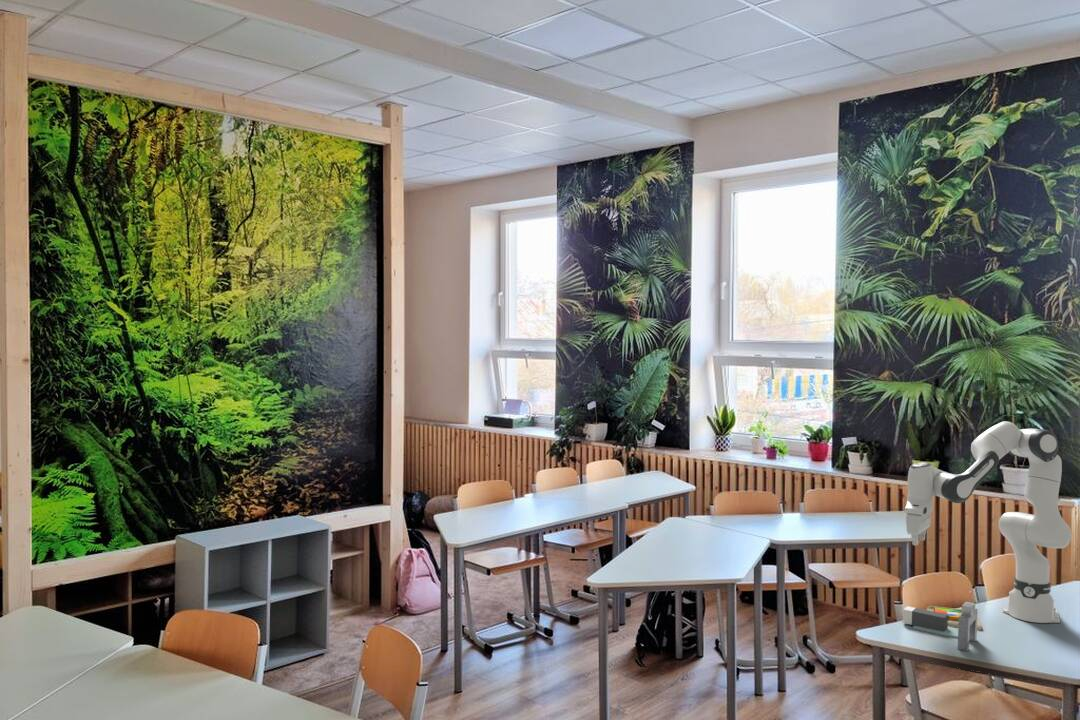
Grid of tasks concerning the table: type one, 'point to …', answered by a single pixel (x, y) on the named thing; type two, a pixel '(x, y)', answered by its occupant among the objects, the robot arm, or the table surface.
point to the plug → (925, 618)
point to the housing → (967, 626)
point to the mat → (948, 632)
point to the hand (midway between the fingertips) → (918, 542)
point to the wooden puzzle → (952, 615)
